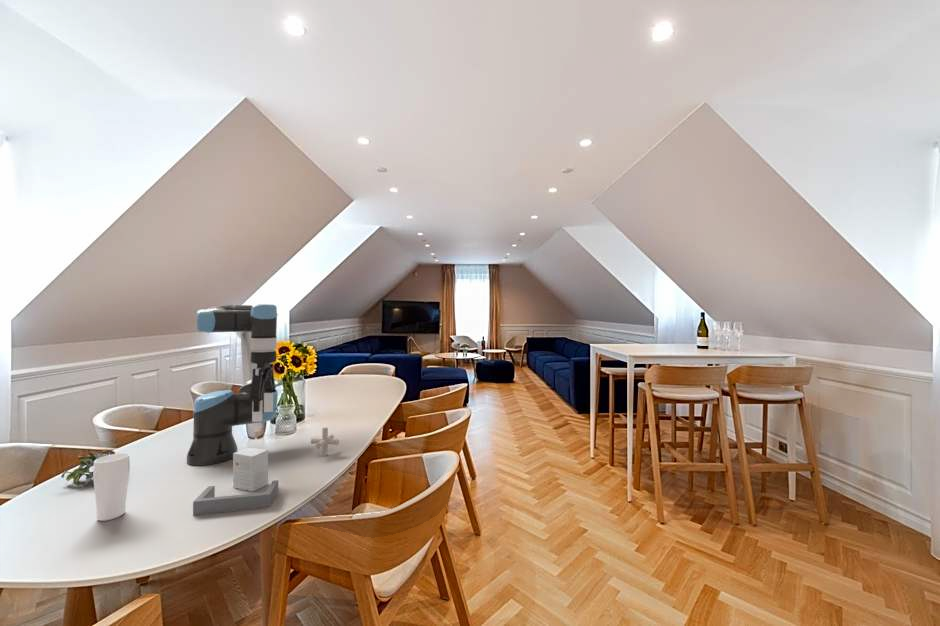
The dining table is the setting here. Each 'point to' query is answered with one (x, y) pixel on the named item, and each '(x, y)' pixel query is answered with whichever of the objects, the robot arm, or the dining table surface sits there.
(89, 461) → the green leafy plant
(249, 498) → the square bracket
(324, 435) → the pipe connector
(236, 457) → the small box
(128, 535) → the dining table surface
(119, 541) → the dining table surface
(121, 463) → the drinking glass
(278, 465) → the dining table surface
